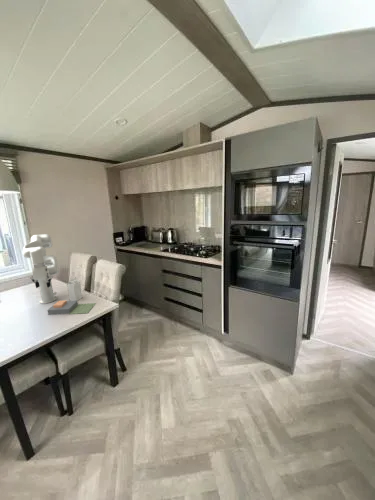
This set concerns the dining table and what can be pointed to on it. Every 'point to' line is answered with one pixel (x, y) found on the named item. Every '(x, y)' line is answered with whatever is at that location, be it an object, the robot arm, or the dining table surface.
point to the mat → (82, 308)
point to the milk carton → (74, 289)
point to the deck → (63, 308)
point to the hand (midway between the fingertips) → (43, 286)
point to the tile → (60, 304)
